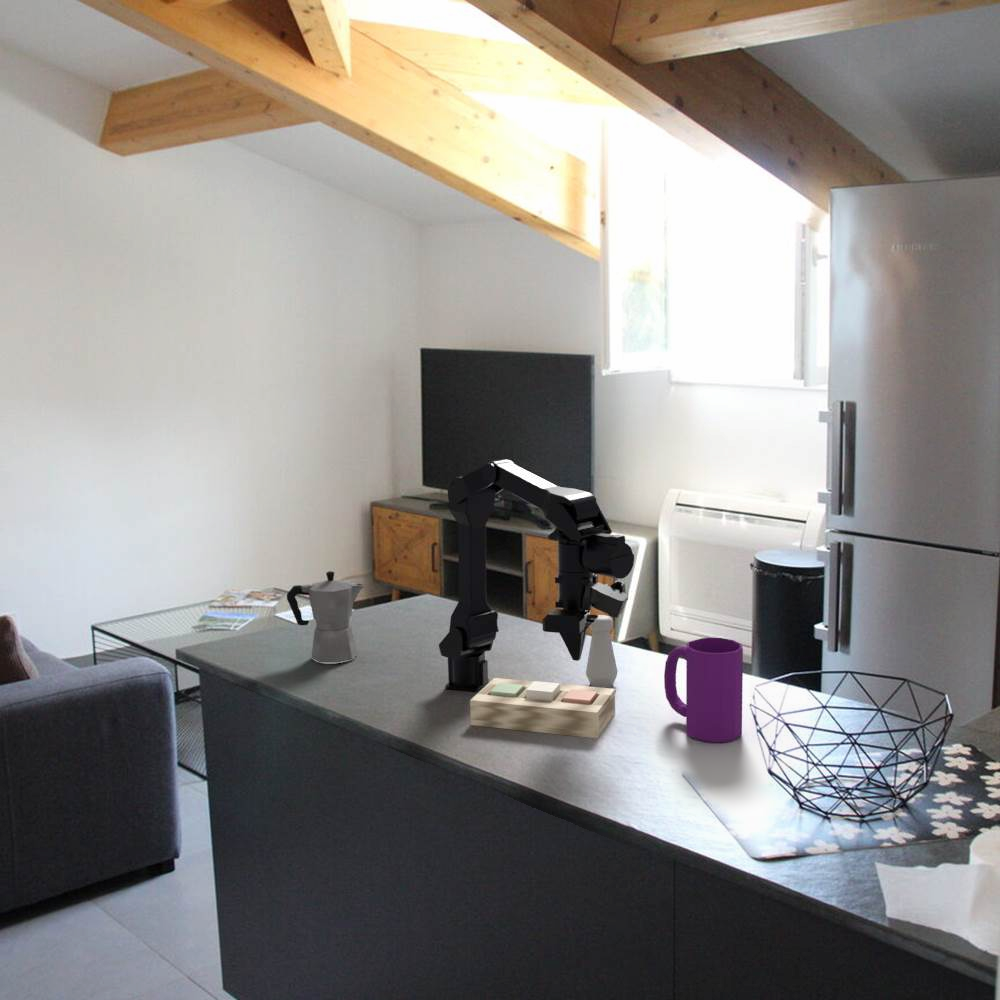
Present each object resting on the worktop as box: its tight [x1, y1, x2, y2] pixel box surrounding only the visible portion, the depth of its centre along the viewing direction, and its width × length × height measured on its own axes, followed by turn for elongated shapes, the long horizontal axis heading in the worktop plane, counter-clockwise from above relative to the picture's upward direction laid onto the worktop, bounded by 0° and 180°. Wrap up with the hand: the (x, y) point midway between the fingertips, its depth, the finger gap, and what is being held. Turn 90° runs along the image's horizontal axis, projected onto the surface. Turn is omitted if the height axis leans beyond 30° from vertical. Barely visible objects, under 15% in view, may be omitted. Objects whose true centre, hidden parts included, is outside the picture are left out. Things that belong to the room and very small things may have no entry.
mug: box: [663, 637, 744, 744], centre depth 190 cm, size 9×16×15 cm, turn 37°
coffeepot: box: [286, 570, 365, 662], centre depth 232 cm, size 15×9×18 cm, turn 102°
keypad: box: [469, 677, 616, 739], centre depth 197 cm, size 22×12×4 cm, turn 70°
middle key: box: [526, 680, 561, 701], centre depth 196 cm, size 5×5×3 cm
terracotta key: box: [563, 689, 597, 705], centre depth 194 cm, size 5×5×3 cm
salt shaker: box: [585, 614, 618, 688], centre depth 213 cm, size 6×6×13 cm
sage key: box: [490, 683, 524, 698], centre depth 199 cm, size 5×5×3 cm
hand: (576, 659), depth 194 cm, fingers closed
